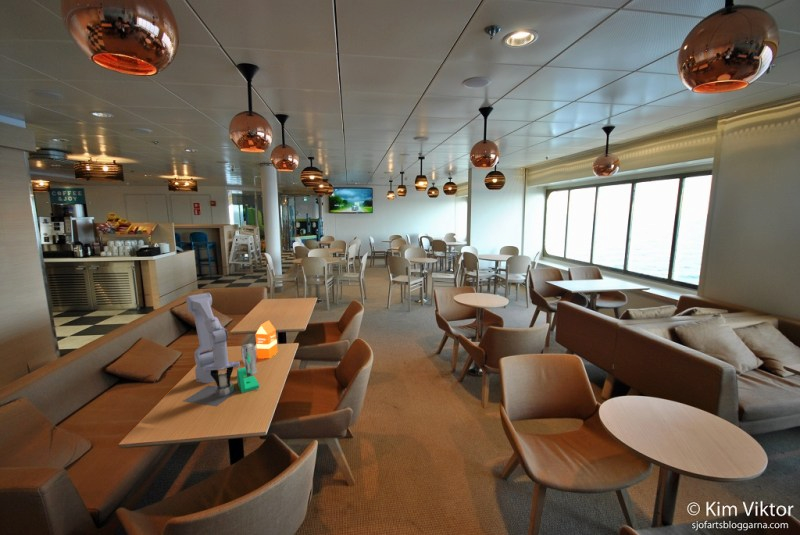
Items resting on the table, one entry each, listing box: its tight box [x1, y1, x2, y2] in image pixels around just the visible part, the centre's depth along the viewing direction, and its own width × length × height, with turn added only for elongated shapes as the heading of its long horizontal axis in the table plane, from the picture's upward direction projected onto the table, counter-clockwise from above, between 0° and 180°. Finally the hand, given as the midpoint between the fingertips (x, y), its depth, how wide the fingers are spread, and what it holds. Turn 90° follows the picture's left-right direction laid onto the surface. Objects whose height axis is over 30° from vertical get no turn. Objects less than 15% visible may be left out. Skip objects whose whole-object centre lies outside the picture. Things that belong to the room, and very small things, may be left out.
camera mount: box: [236, 366, 260, 394], centre depth 157 cm, size 12×8×10 cm, turn 35°
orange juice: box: [254, 320, 278, 359], centre depth 192 cm, size 8×9×20 cm
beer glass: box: [240, 343, 258, 377], centre depth 171 cm, size 7×7×15 cm
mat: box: [183, 384, 241, 407], centre depth 149 cm, size 18×14×1 cm
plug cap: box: [218, 372, 228, 389], centre depth 150 cm, size 4×4×6 cm
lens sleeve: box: [214, 381, 235, 397], centre depth 150 cm, size 7×7×4 cm
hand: (223, 384), depth 150 cm, fingers closed on plug cap, 4 cm apart
